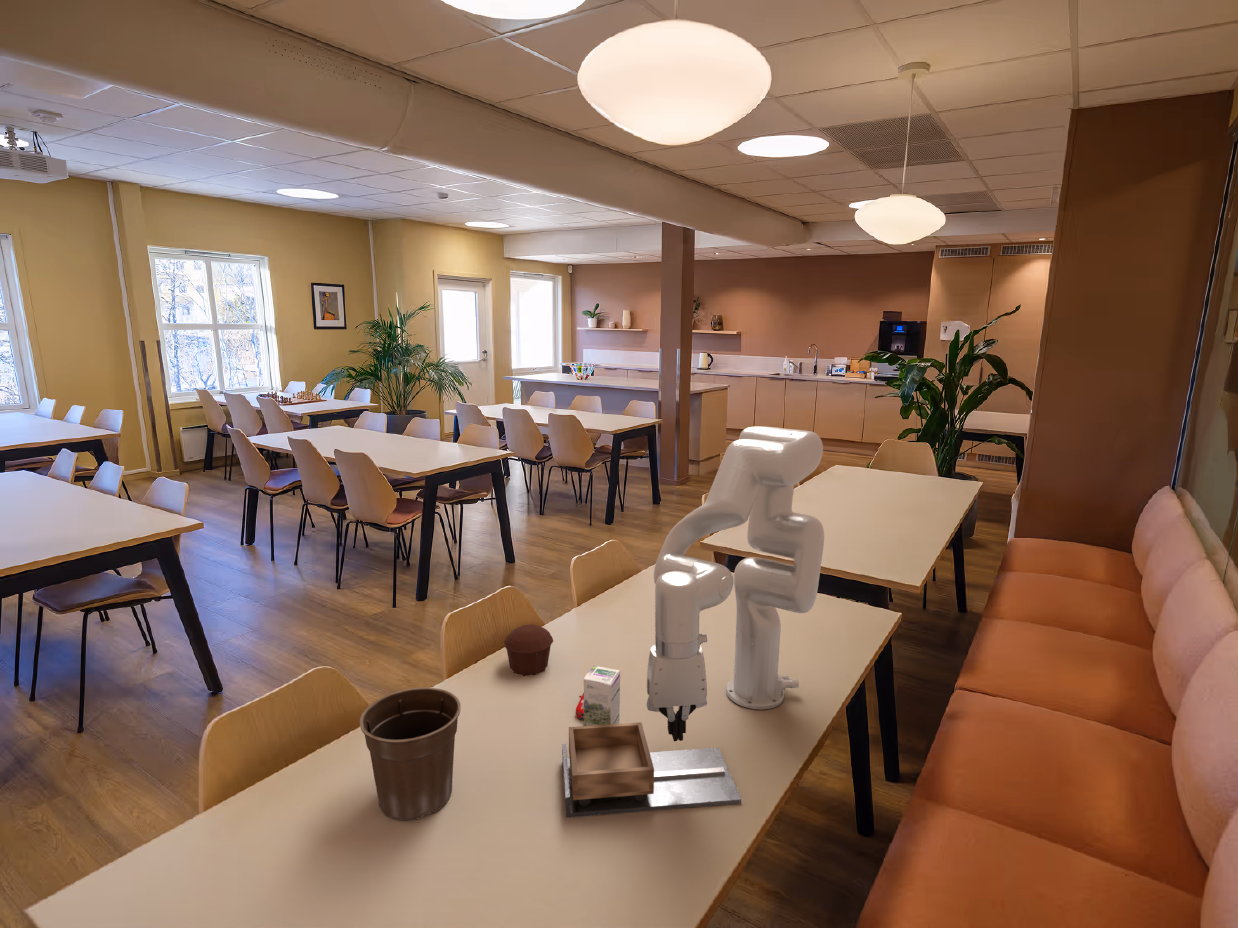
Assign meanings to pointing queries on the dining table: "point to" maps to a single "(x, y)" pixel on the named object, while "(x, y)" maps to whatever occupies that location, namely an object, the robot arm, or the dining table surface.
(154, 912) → the dining table surface
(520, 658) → the muffin
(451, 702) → the plant pot
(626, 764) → the open wooden crate
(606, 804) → the track
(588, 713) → the syrup box
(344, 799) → the dining table surface
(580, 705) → the race car
